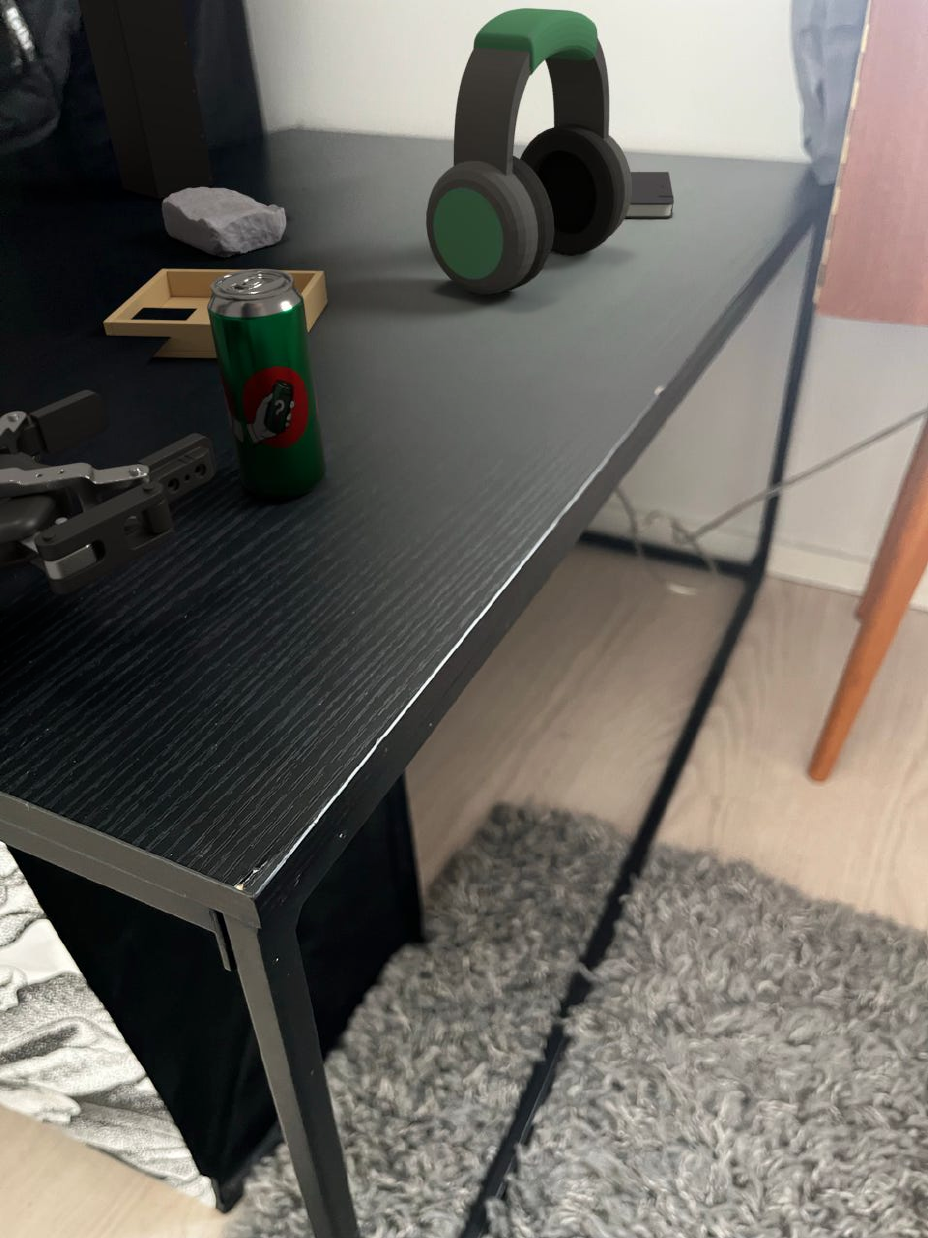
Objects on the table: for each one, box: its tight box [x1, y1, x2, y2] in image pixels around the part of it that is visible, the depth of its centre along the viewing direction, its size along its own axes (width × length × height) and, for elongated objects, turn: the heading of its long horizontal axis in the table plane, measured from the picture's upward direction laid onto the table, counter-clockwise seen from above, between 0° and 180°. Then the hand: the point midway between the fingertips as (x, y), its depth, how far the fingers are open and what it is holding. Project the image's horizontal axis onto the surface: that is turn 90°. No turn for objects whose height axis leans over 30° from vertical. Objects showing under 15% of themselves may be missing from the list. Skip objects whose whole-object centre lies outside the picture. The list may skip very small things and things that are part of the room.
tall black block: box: [77, 0, 215, 200], centre depth 103 cm, size 8×8×28 cm
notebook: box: [624, 171, 675, 219], centre depth 102 cm, size 13×2×21 cm
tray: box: [102, 268, 329, 359], centre depth 76 cm, size 14×12×3 cm
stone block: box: [161, 187, 287, 259], centre depth 95 cm, size 12×5×10 cm
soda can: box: [207, 268, 327, 501], centre depth 53 cm, size 5×5×12 cm
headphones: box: [425, 7, 632, 295], centre depth 79 cm, size 19×11×20 cm, turn 143°
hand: (152, 428), depth 47 cm, fingers open, 8 cm apart
